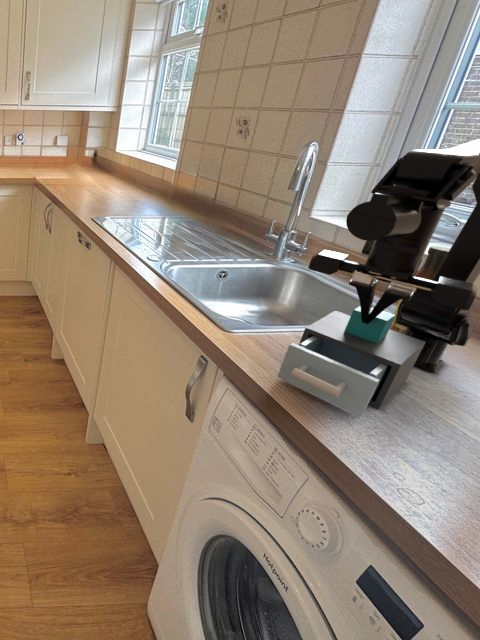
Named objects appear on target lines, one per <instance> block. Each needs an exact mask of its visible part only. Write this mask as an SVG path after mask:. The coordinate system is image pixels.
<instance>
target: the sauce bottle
mask: <svg viewBox="0 0 480 640" xmlns="http://www.w3.org/2000/svg"><path fill="white" fill-rule="evenodd" d="M450 249H451V247H450V248H449V247H445V246H436V245H431V246H429V248H428V249H427V256H426V258H425V260H424V262H423V263H422V266H421V268H420V267H419V268H418V270H417V272H416V274H414V277H419V278H423V279H427V280H432V279H433V278H434V276H435V274H436V273H437V271H438V269H439V267H440V266H441V264H442V262H443V261H444V259H445V257H446V256H447V254H448V252H449V250H450ZM402 300H403V299H400V300H398V303H397V306H396V308H395V310H394V313H393V314H394V315H396V316H397V312H398V307H399V305H400V303H401V301H402ZM396 316H395V318H394V320H393V322H392V324H391V327H390V330H393V331H396V332H399V333H402V334H404V333H405V331H406V329H407V327H405V326H402V325H400V324H396V323H395V320H396Z"/></svg>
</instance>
